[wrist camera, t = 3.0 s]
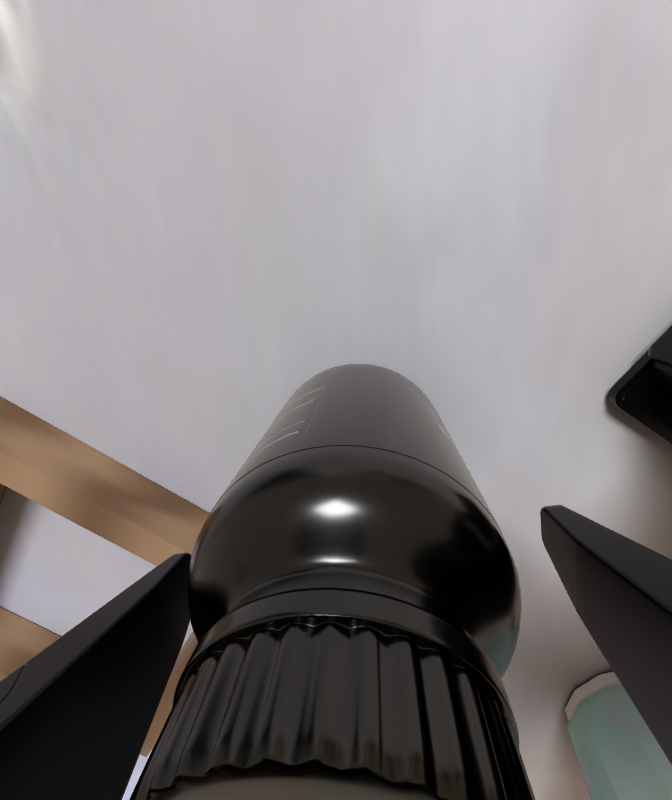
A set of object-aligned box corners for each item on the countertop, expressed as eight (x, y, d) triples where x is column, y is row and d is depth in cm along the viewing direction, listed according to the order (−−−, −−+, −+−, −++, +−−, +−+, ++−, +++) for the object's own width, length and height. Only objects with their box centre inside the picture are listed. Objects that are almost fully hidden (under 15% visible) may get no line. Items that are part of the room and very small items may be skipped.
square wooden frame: (283, 554, 17) (270, 597, 15) (169, 706, 22) (146, 756, 20) (-2, 396, 16) (-66, 416, 13) (-59, 596, 21) (-113, 637, 18)
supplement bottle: (474, 419, 14) (880, 947, 3) (375, 528, 16) (398, 1073, 5) (336, 323, 14) (184, 551, 2) (251, 451, 16) (-46, 897, 4)
